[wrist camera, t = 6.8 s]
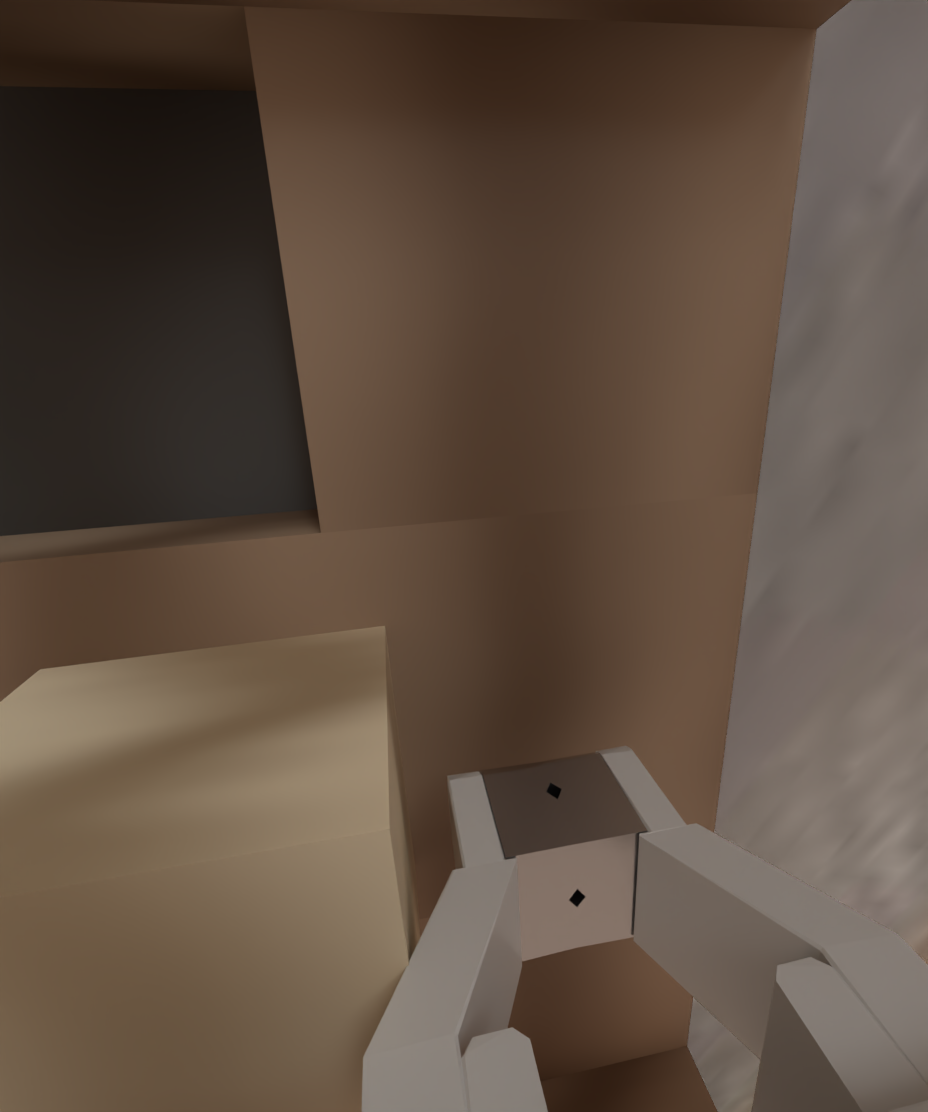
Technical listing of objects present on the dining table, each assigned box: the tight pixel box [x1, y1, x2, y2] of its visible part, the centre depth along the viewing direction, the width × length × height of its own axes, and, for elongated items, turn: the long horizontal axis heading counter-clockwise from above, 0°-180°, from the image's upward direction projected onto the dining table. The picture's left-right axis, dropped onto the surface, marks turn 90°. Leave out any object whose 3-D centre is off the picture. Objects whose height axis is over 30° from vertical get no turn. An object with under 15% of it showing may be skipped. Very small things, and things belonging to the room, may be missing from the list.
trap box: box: [0, 0, 851, 1112], centre depth 8 cm, size 20×22×5 cm
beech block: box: [0, 626, 420, 1112], centre depth 7 cm, size 5×5×4 cm
